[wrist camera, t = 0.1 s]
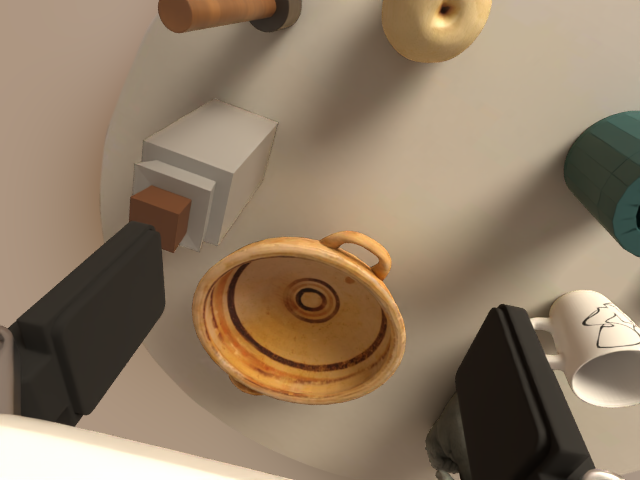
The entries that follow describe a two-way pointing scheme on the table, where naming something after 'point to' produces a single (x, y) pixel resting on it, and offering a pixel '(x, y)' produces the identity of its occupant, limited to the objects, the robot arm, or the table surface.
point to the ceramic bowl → (301, 319)
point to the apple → (433, 27)
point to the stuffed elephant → (448, 444)
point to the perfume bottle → (201, 174)
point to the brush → (228, 13)
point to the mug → (594, 348)
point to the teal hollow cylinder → (609, 176)
